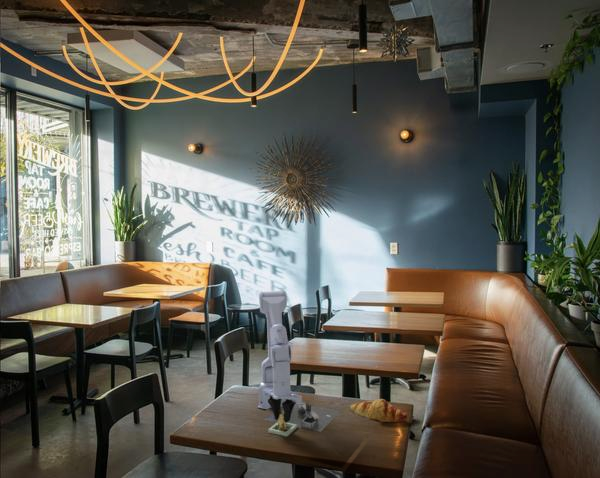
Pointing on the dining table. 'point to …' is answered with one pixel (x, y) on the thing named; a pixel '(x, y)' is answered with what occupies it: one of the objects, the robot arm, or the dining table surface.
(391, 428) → the dining table surface
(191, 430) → the dining table surface
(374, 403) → the croissant
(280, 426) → the olive brown rounded cylinder
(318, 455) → the dining table surface
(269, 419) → the crank plate
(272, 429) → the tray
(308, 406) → the crank
